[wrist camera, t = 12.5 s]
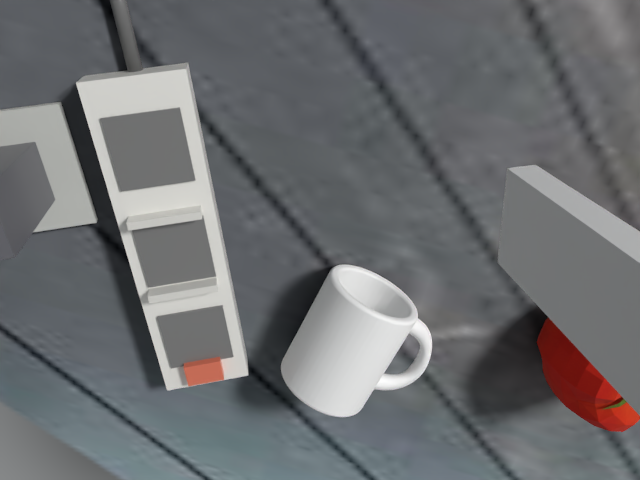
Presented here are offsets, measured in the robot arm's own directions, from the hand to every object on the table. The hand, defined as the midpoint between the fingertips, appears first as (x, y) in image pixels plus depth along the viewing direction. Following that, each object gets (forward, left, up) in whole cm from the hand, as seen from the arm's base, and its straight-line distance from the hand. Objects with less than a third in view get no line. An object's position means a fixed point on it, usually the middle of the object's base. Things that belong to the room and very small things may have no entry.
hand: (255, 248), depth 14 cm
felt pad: (+6, -17, -28) cm, 33 cm away
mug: (+24, +7, -29) cm, 38 cm away
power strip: (+8, -6, -28) cm, 30 cm away
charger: (+6, -17, -28) cm, 33 cm away
